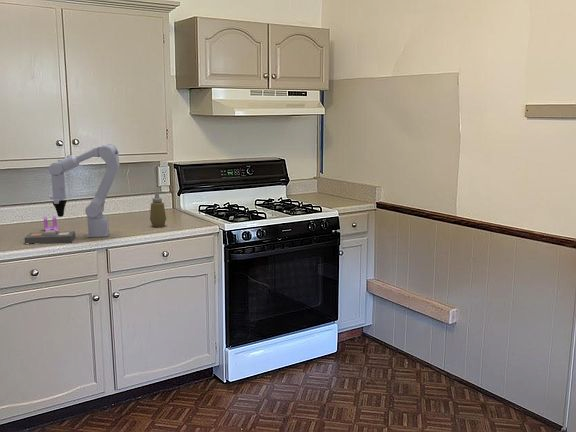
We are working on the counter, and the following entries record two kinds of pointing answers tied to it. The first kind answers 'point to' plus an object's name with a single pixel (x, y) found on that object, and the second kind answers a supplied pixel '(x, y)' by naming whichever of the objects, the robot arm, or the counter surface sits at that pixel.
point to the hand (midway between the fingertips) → (60, 216)
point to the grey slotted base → (50, 238)
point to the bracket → (53, 224)
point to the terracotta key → (37, 234)
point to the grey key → (50, 233)
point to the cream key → (64, 233)
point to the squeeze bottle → (157, 212)
